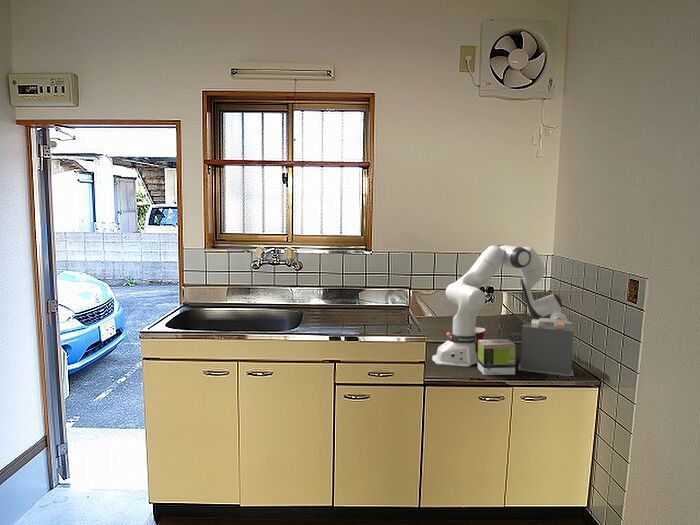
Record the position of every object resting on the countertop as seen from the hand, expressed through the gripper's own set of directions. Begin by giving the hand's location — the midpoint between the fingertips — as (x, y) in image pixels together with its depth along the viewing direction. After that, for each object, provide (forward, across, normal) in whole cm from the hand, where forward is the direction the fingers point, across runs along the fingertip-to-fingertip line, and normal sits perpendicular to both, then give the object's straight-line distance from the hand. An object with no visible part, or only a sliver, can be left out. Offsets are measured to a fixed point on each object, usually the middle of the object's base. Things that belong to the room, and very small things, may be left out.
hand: (559, 327), depth 237 cm
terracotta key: (+13, 0, +2) cm, 13 cm away
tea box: (+26, -27, +18) cm, 42 cm away
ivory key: (+14, -11, +2) cm, 18 cm away
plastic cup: (-4, -41, +18) cm, 45 cm away
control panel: (+16, -5, +18) cm, 24 cm away
